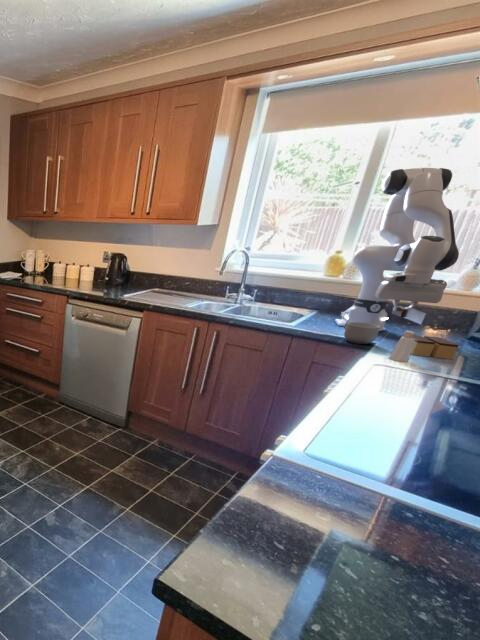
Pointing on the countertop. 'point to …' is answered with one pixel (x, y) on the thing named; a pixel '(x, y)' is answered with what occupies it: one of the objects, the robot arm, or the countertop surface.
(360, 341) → the teacup
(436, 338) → the two-panel tan box
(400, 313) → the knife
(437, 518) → the countertop surface
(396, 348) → the pepper shaker
